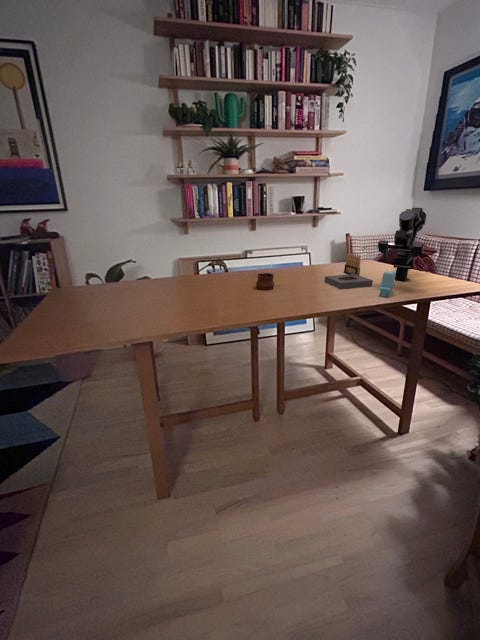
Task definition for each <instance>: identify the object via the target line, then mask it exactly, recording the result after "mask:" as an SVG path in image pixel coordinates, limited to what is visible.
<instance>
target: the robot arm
mask: <svg viewBox="0 0 480 640" xmlns="http://www.w3.org/2000/svg"><path fill="white" fill-rule="evenodd" d="M426 222H427V213H426V212H425V211H424V208H422V207H412V208H406V209H405V210H404V211H401V212H400V213H399V219H398V223H399V224H398V225H399V229H398V230H395V233H394V240H393V243H389V240H385V239H384V240H379V241H378V243H377V250H378V252H380V253H381V254H382V255H383V262H384V263H385V262H386V260H387V257H388V251H389V249H391V250H393V249H394V250H398V251H397V254H396V255H395V257H394V260H393V269H394V268H395V272H396V276H395V281H400V282H405V281H410V278H408V274H409V270H414V268H415V267H414V266H415V259H414V258H416V257H420V256H422V255H423V253H424V248H425V247H424V243H422V242H416V238H417V236H418V232H420V231H421V230H423V227H424V226H425V225H426Z"/></svg>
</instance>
